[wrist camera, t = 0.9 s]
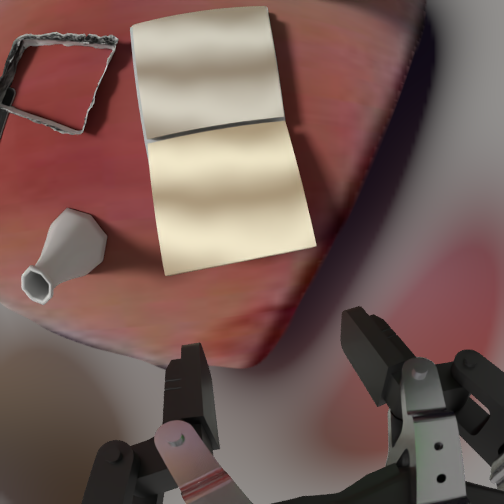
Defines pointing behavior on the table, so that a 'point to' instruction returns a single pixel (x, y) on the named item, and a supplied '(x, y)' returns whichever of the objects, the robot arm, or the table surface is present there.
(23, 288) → the flask
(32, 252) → the table surface
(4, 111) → the smartphone
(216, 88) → the laid plank
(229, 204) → the cream wavy square sheet
